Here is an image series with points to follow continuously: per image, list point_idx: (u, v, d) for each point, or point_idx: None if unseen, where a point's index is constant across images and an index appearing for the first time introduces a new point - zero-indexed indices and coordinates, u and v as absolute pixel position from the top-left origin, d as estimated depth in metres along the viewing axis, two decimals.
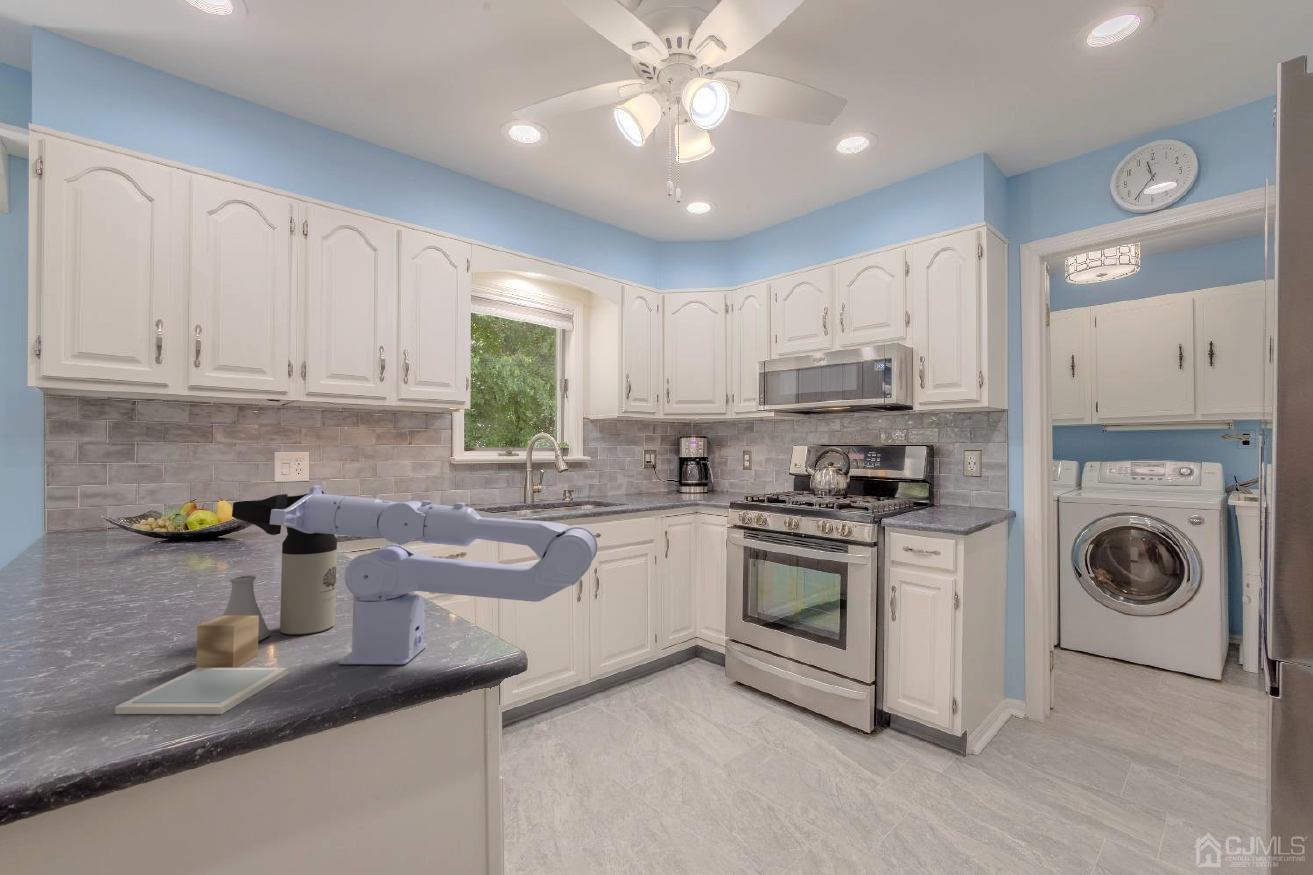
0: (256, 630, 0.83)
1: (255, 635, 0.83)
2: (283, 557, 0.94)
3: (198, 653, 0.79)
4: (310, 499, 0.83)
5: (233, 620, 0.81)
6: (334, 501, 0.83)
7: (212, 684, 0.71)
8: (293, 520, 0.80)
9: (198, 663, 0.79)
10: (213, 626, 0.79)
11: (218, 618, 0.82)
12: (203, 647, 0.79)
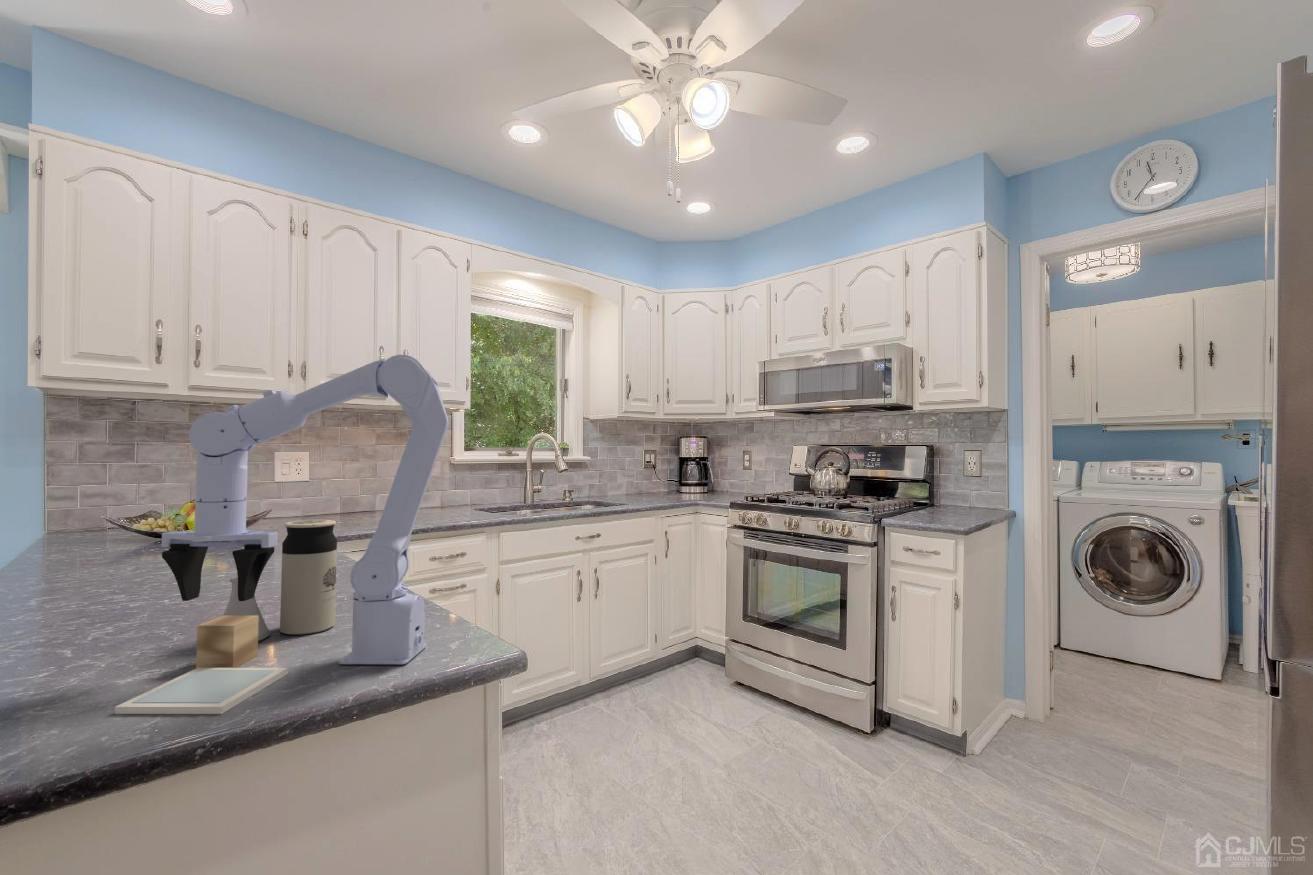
0: (256, 630, 0.83)
1: (255, 635, 0.83)
2: (283, 557, 0.94)
3: (198, 653, 0.79)
4: (223, 533, 0.78)
5: (233, 620, 0.81)
6: (223, 508, 0.78)
7: (212, 684, 0.71)
8: (258, 533, 0.80)
9: (198, 663, 0.79)
10: (213, 626, 0.79)
11: (218, 618, 0.82)
12: (203, 647, 0.79)
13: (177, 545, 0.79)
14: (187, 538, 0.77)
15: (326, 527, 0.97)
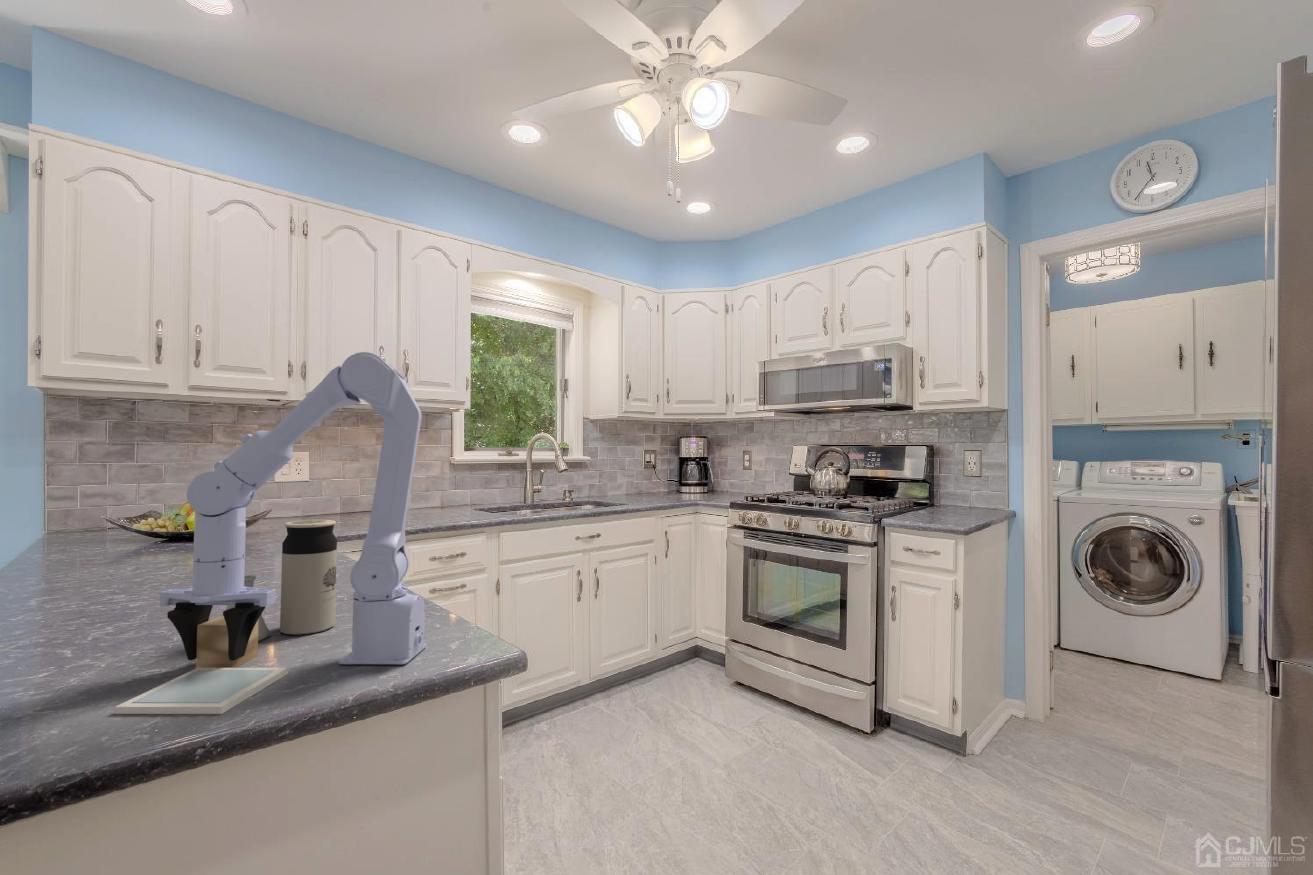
0: (256, 630, 0.83)
1: (255, 635, 0.83)
2: (283, 557, 0.94)
3: (198, 653, 0.79)
4: (221, 593, 0.77)
5: None
6: (221, 567, 0.77)
7: (212, 684, 0.71)
8: (256, 591, 0.80)
9: (198, 663, 0.79)
10: (213, 626, 0.79)
11: (218, 618, 0.82)
12: (203, 647, 0.79)
13: (182, 604, 0.78)
14: (185, 598, 0.77)
15: (326, 527, 0.97)
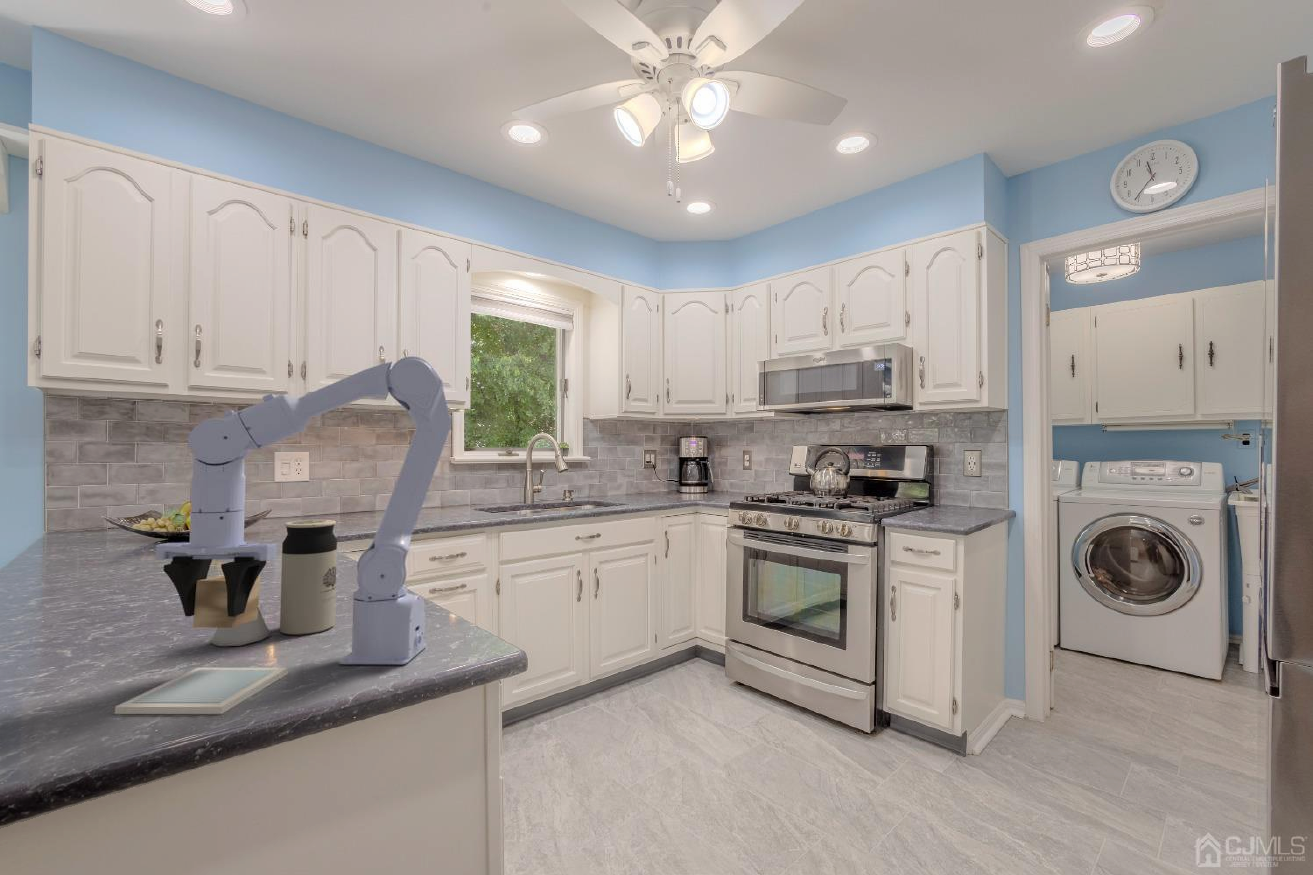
0: (257, 590, 0.80)
1: (256, 595, 0.80)
2: (283, 557, 0.94)
3: (196, 610, 0.75)
4: (219, 545, 0.74)
5: None
6: (219, 519, 0.74)
7: (212, 684, 0.71)
8: (256, 545, 0.76)
9: (196, 620, 0.75)
10: (213, 581, 0.76)
11: (218, 576, 0.79)
12: (202, 603, 0.75)
13: (180, 558, 0.75)
14: (182, 551, 0.74)
15: (326, 527, 0.97)
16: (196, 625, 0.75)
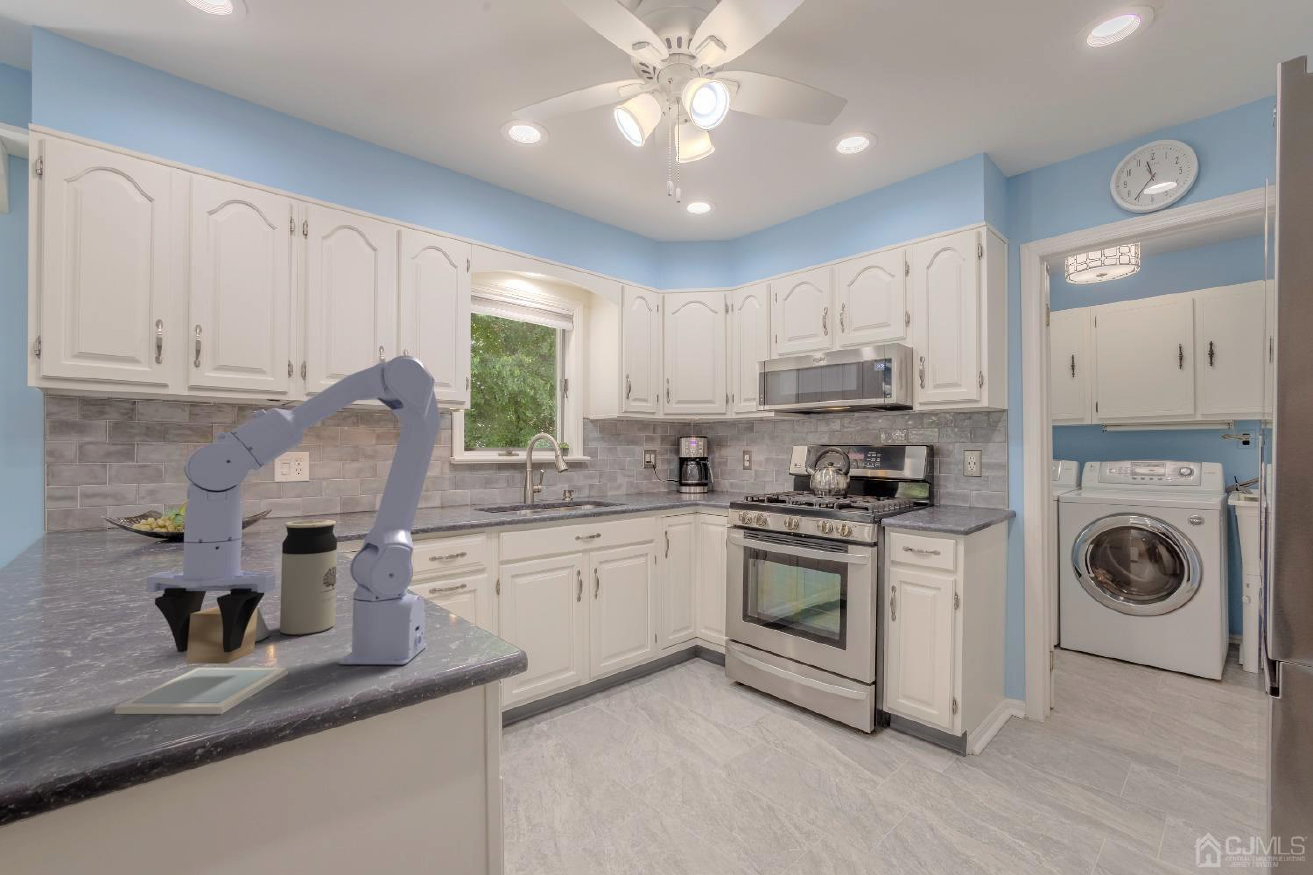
0: (254, 622, 0.76)
1: (253, 627, 0.76)
2: (283, 557, 0.94)
3: (189, 645, 0.71)
4: (214, 577, 0.70)
5: None
6: (214, 549, 0.70)
7: (212, 684, 0.71)
8: None
9: (189, 656, 0.71)
10: (208, 614, 0.71)
11: (213, 608, 0.75)
12: (196, 638, 0.71)
13: (172, 590, 0.71)
14: (175, 583, 0.69)
15: (326, 527, 0.97)
16: (189, 661, 0.71)
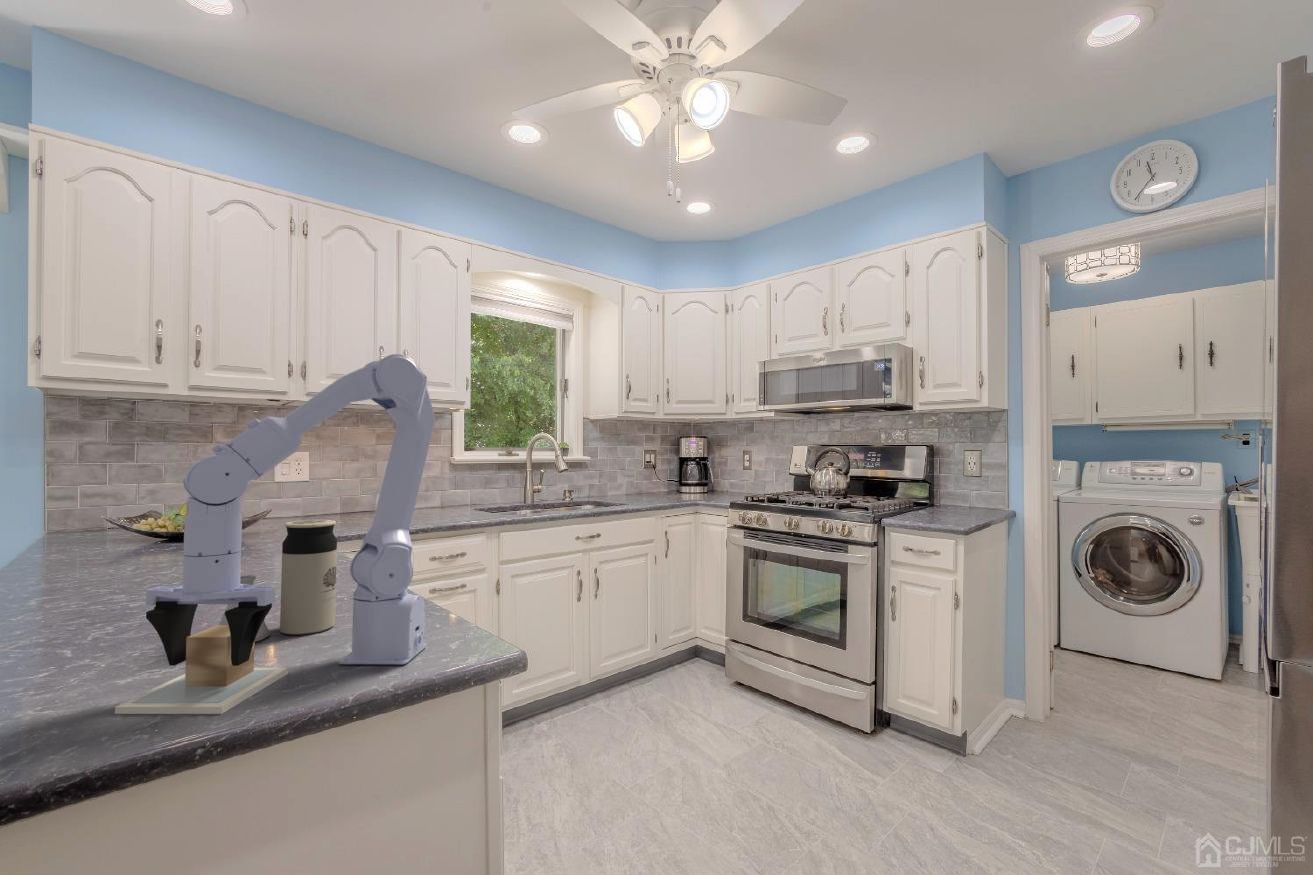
0: None
1: None
2: (283, 557, 0.94)
3: (187, 668, 0.71)
4: (214, 591, 0.69)
5: (226, 631, 0.73)
6: (214, 562, 0.70)
7: None
8: None
9: (187, 679, 0.71)
10: (204, 638, 0.71)
11: (210, 628, 0.74)
12: (193, 661, 0.71)
13: (163, 603, 0.71)
14: (174, 596, 0.69)
15: (326, 527, 0.97)
16: (188, 684, 0.71)
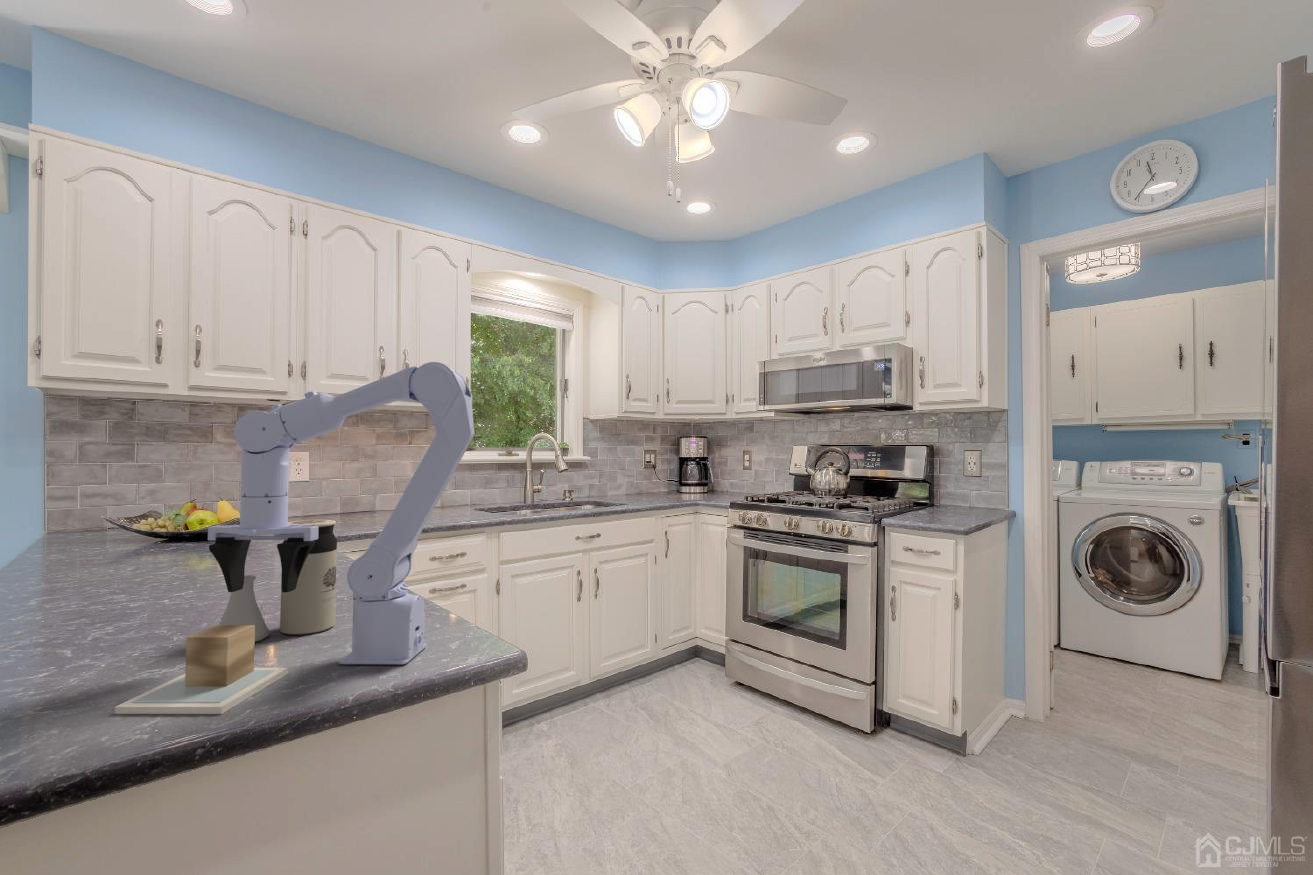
0: (252, 642, 0.75)
1: (251, 647, 0.75)
2: None
3: (187, 668, 0.71)
4: (267, 527, 0.81)
5: (226, 631, 0.73)
6: (267, 503, 0.81)
7: None
8: (300, 527, 0.83)
9: (187, 679, 0.71)
10: (204, 638, 0.71)
11: (210, 628, 0.74)
12: (193, 661, 0.71)
13: (223, 538, 0.82)
14: (233, 532, 0.80)
15: (326, 527, 0.97)
16: (188, 684, 0.71)
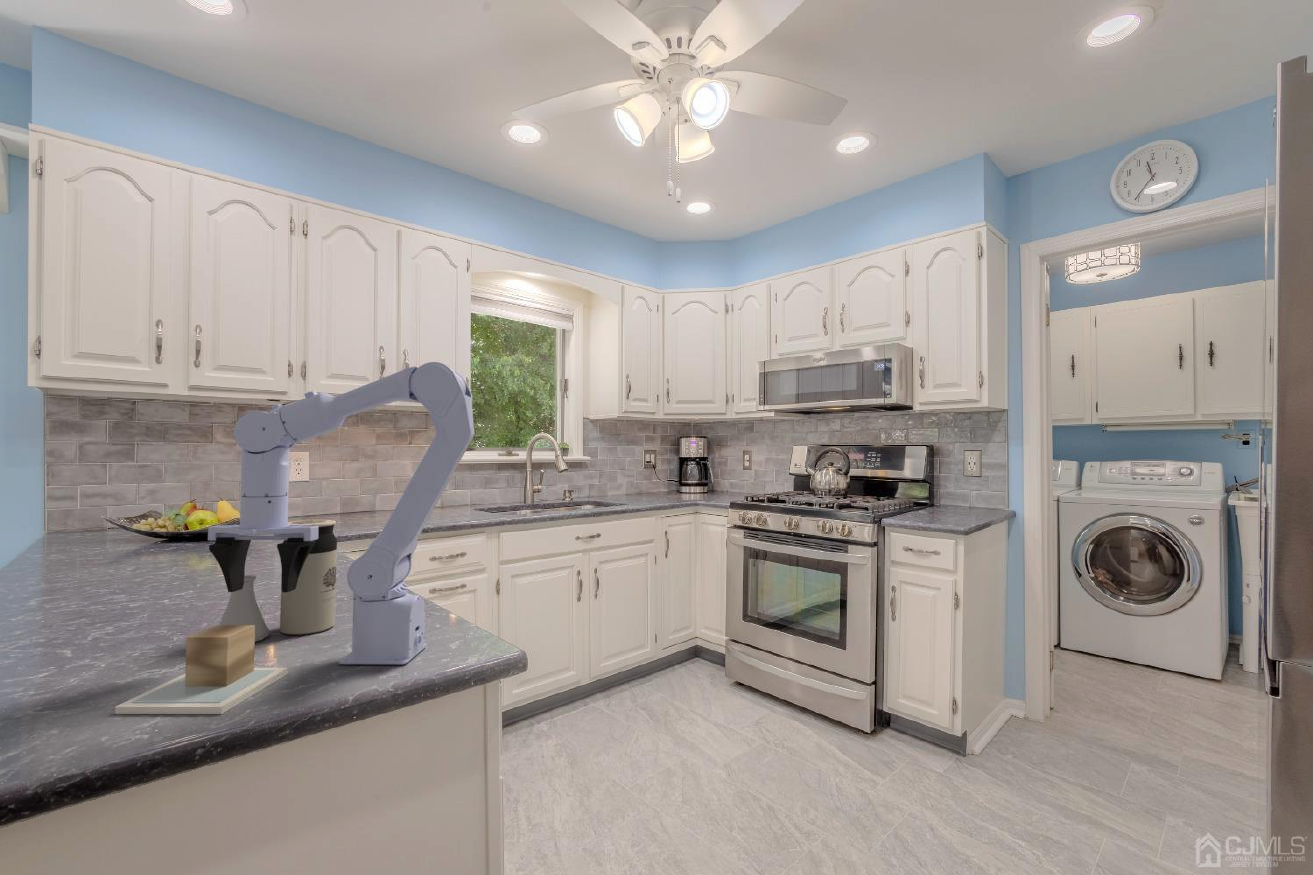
0: (252, 642, 0.75)
1: (251, 647, 0.75)
2: None
3: (187, 668, 0.71)
4: (267, 527, 0.81)
5: (226, 631, 0.73)
6: (267, 503, 0.81)
7: None
8: (300, 527, 0.83)
9: (187, 679, 0.71)
10: (204, 638, 0.71)
11: (210, 628, 0.74)
12: (193, 661, 0.71)
13: (223, 538, 0.82)
14: (233, 532, 0.80)
15: (326, 527, 0.97)
16: (188, 684, 0.71)
